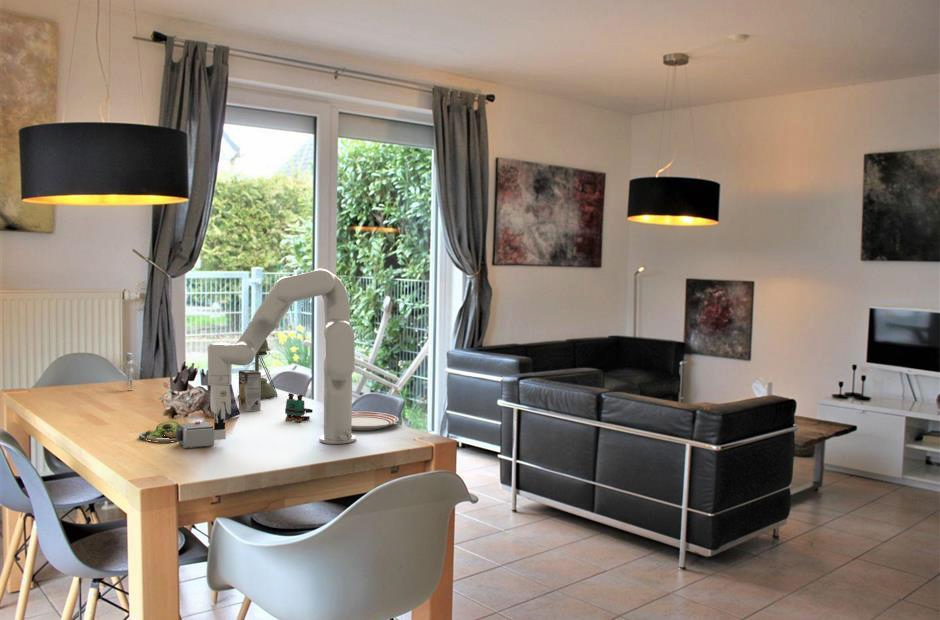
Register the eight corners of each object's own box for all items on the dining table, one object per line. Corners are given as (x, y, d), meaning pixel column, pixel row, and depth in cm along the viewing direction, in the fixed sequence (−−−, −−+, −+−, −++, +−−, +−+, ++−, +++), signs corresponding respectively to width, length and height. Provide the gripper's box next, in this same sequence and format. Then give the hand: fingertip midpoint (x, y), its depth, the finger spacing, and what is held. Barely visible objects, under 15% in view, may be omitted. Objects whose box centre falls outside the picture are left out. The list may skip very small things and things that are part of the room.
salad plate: (211, 437, 268) (211, 424, 268) (166, 447, 253) (166, 433, 253) (177, 430, 279) (177, 418, 279) (132, 439, 264) (132, 426, 264)
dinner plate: (400, 419, 306) (400, 410, 306) (396, 434, 279) (396, 425, 279) (331, 418, 305) (331, 410, 305) (320, 433, 278) (320, 424, 278)
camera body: (213, 445, 255) (212, 424, 255) (180, 449, 250) (180, 427, 249) (206, 440, 263) (206, 419, 262) (175, 443, 257) (175, 422, 257)
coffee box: (238, 408, 322) (238, 370, 321) (252, 406, 326) (252, 369, 325) (246, 411, 315) (246, 372, 314) (261, 410, 319) (261, 371, 318)
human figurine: (117, 392, 357) (117, 353, 356) (114, 391, 360) (114, 353, 359) (143, 389, 365) (143, 352, 365) (140, 388, 368) (140, 351, 367)
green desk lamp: (238, 393, 359) (238, 330, 357) (277, 392, 364) (277, 329, 362) (237, 401, 339) (237, 333, 338) (277, 400, 344) (278, 333, 342)
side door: (225, 444, 254) (225, 427, 254) (183, 448, 249) (183, 429, 249) (225, 444, 255) (225, 426, 255) (183, 447, 250) (183, 429, 250)
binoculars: (317, 394, 303) (300, 395, 294) (315, 421, 303) (298, 422, 294) (299, 392, 307) (282, 393, 298) (297, 418, 307) (280, 420, 298)
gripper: (236, 382, 251) (236, 437, 252) (226, 376, 263) (225, 429, 264) (213, 383, 247) (212, 439, 248) (203, 377, 260) (203, 431, 261)
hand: (219, 434), depth 256 cm, fingers closed
